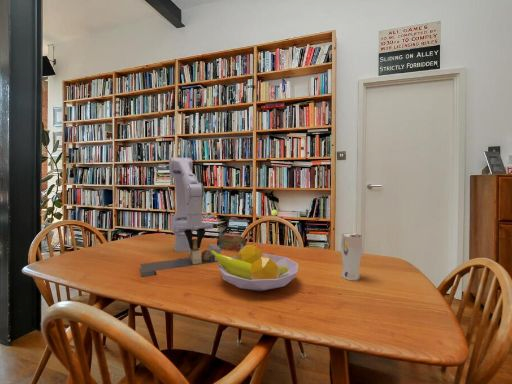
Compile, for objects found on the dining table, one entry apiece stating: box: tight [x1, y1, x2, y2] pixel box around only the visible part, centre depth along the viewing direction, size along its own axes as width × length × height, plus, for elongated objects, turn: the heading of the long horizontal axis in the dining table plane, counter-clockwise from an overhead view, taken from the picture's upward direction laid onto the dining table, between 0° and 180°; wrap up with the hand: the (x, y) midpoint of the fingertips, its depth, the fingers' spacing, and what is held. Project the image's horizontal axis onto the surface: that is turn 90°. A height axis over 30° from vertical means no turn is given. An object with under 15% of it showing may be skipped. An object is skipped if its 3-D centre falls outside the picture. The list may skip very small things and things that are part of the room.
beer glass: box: [340, 232, 363, 281], centre depth 94 cm, size 7×7×15 cm
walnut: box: [201, 249, 211, 261], centre depth 109 cm, size 4×4×4 cm
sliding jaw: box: [188, 238, 202, 264], centre depth 107 cm, size 8×3×8 cm, turn 26°
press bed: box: [139, 243, 222, 278], centre depth 105 cm, size 10×30×6 cm, turn 116°
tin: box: [216, 234, 248, 253], centre depth 123 cm, size 15×3×8 cm, turn 62°
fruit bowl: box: [211, 244, 299, 292], centre depth 90 cm, size 28×27×11 cm
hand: (194, 248), depth 106 cm, fingers closed on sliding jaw, 2 cm apart
